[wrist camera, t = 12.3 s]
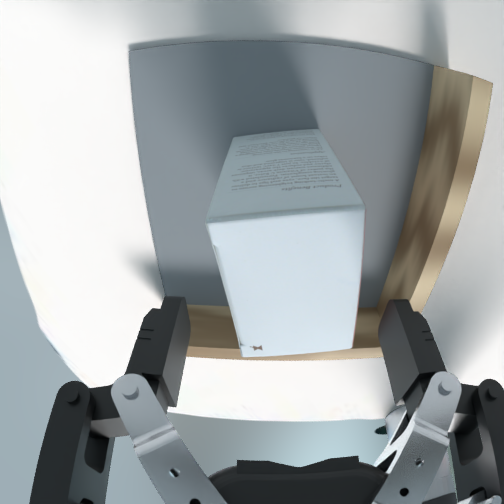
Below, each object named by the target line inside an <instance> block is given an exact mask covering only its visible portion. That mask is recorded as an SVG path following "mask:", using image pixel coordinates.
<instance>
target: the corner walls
mask: <svg viewBox="0 0 504 504" xmlns="http://www.w3.org/2000/svg"><path fill="white" fill-rule="evenodd" d="M492 86H493V83H491V82H489V81H486V80H483V79H481V78H478V77H475V76H472V75H469V74H466V73H462V72H458V71H454V70H451V69H447V68H442V67H438V66H434V70H433V79H432V87H431V95H430V102H429V109H428V115H427V122H426V128H425V133H424V139H423V144H422V149H421V154H420V159H419V164H418V168H417V173H416V177H415V181H414V186H413V190H412V194H411V198H410V202H409V206H408V209H407V213H406V217H405V221H404V224H403V228H402V231H401V235H400V238H399V241H398V245H397V248H396V251H395V254H394V258H393V261H392V264H391V267H390V270H389V273H388V276H387V279H386V282H385V285H384V287H383V290H382V293H381V296H380V299H379V301H378V304H377V307H364V308H358V313H357V320H356V328H355V336H354V342H353V347H352V348H350V349H343V350H336V351H327V352H316V353H305V354H292V355H280V356H264V357H242V356H241V353H240V348H239V342H238V338H237V334H236V330H235V326H234V322H233V318H232V314H231V311H230V307H229V306H209V305H188V304H187V309H188V314H189V319H190V325H191V332H190V340H189V344H188V349H187V354H186V356H187V357H200V358H216V359H237V360H279V361H300V360H341V359H362V358H378V357H384V356H383V353H382V349H381V346H380V342H379V338H378V327H379V324H380V321H381V319H382V316H383V313H384V311H385V308H386V306H387V303H388V301H389V300H390V299H408V300H409V302H410V304H411V306H412V309H413V311H418V312H419V313H420V314H421V312H422V310H423V308H424V306H425V304H426V302H427V300H428V298H429V295H430V293H431V291H432V289H433V287H434V285H435V282H436V280H437V278H438V275H439V273H440V271H441V268H442V266H443V264H444V261H445V259H446V256H447V254H448V251H449V249H450V246H451V244H452V241H453V238H454V236H455V233H456V230H457V227H458V225H459V222H460V219H461V216H462V213H463V210H464V207H465V204H466V201H467V197H468V194H469V191H470V188H471V184H472V181H473V177H474V174H475V170H476V166H477V162H478V158H479V154H480V150H481V146H482V142H483V137H484V132H485V128H486V123H487V117H488V112H489V106H490V100H491V93H492Z"/></svg>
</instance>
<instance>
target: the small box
mask: <svg viewBox="0 0 504 504" xmlns="http://www.w3.org/2000/svg"><path fill="white" fill-rule="evenodd" d="M366 211H367V208H366V206H365V203H364V202H363V200H362V198H361V197H360V195H359V193H358V191H357V189H356V188H355V186H354V184H353V183H352V181H351V179H350V177H349V176H348V174H347V172H346V170H345V169H344V167H343V166H342V164H341V163H340V161H339V160H338V158H337V156H336V154H335V153H334V151H333V150H332V148H331V146H330V145H329V143H328V142H327V140H326V139H325V137H324V136H323V134H322V132H321V131H320V129H306V130H292V131H281V132H271V133H262V134H253V135H246V136H239V137H234V138H233V139H232V142H231V145H230V148H229V151H228V154H227V157H226V159H225V162H224V165H223V168H222V171H221V174H220V177H219V180H218V183H217V186H216V189H215V192H214V195H213V198H212V201H211V204H210V207H209V211H208V214H207V217H206V220H205V224H206V228H207V231H208V233H209V237H210V240H211V243H212V246H213V249H214V253H215V256H216V259H217V263H218V267H219V270H220V274H221V278H222V281H223V285H224V289H225V292H226V296H227V300H228V303H229V307H230V311H231V314H232V318H233V322H234V326H235V330H236V334H237V338H238V342H239V348H240V353H241V356H242V357H264V356H280V355H292V354H305V353H316V352H327V351H336V350H343V349H350V348H352V347H353V342H354V336H355V328H356V320H357V313H358V305H359V296H360V286H361V276H362V265H363V254H364V241H365V224H366Z"/></svg>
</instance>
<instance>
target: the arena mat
mask: <svg viewBox="0 0 504 504" xmlns="http://www.w3.org/2000/svg"><path fill="white" fill-rule="evenodd" d="M129 64H130V77H131V89H132V100H133V110H134V119H135V128H136V136H137V144H138V152H139V159H140V166H141V172H142V179H143V185H144V191H145V197H146V203H147V209H148V214H149V220H150V225H151V230H152V235H153V240H154V245H155V250H156V255H157V260H158V264H159V269H160V273H161V278H162V282H163V286H164V291H165V295H166V296H181V297H185V299H186V304H188V305H209V306H229V303H228V300H227V296H226V292H225V289H224V285H223V281H222V278H221V274H220V270H219V267H218V263H217V259H216V256H215V253H214V249H213V246H212V243H211V240H210V237H209V233H208V231H207V228H206V224H205V220H206V217H207V214H208V211H209V207H210V204H211V201H212V198H213V195H214V192H215V189H216V186H217V183H218V180H219V177H220V174H221V171H222V168H223V165H224V162H225V159H226V157H227V154H228V151H229V148H230V145H231V142H232V139H233V138H234V137H239V136H246V135H253V134H262V133H271V132H281V131H292V130H306V129H320V131H321V132H322V134H323V136H324V137H325V139H326V140H327V142H328V143H329V145H330V146H331V148H332V150H333V151H334V153H335V154H336V156H337V158H338V160H339V161H340V163H341V164H342V166H343V167H344V169H345V170H346V172H347V174H348V176H349V177H350V179H351V181H352V183H353V184H354V186H355V188H356V189H357V191H358V193H359V195H360V197H361V198H362V200H363V202H364V203H365V206H366V208H367V211H366V224H365V241H364V254H363V265H362V276H361V286H360V296H359V305H358V308H364V307H377V304H378V301H379V299H380V296H381V293H382V290H383V287H384V285H385V282H386V279H387V276H388V273H389V270H390V267H391V264H392V261H393V258H394V254H395V251H396V248H397V245H398V241H399V238H400V235H401V231H402V228H403V224H404V221H405V217H406V213H407V209H408V206H409V202H410V198H411V194H412V190H413V186H414V181H415V177H416V173H417V168H418V164H419V159H420V154H421V149H422V144H423V139H424V133H425V128H426V122H427V115H428V109H429V102H430V95H431V87H432V79H433V70H434V65H430V64H427V63H423V62H419V61H415V60H411V59H407V58H402V57H398V56H393V55H389V54H384V53H378V52H373V51H367V50H361V49H355V48H348V47H341V46H333V45H324V44H314V43H302V42H286V41H213V42H198V43H185V44H175V45H166V46H158V47H151V48H144V49H138V50H132V51H129Z"/></svg>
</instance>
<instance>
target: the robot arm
mask: <svg viewBox="0 0 504 504" xmlns="http://www.w3.org/2000/svg"><path fill="white" fill-rule="evenodd" d="M430 331H431V330H430V328H429V325H428V323H427V321H426V319H425V318H424V317H423V316H422V315H421V314H420V313H419V312H418V311H413V309H412V306H411V304H410V302H409V300H408V299H390V300H389V301H388V303H387V306H386V308H385V311H384V313H383V316H382V319H381V321H380V324H379V327H378V338H379V342H380V346H381V349H382V353H383V356H384V360H385V364H386V368H387V372H388V376H389V380H390V384H391V388H392V392H393V396H394V400H395V405H396V406H398V405H404V404H405V406H402V407H400V408H398V409H396V410H394V411H393V412H391V413H390V414H389V415H388V416H387V417H386V418H385V422H386V429H387V435H388V440H389V443H388V445H387V446H386V448H385V450H384V451H383V453H382V454H381V455H380V456H379V458H378V459H377V460H376V462H375V463H374V465H373V466H372V465H369V464H366V463H363V462H359V458H358V456H351V457H341V458H331V459H327V460H324V461H321V462H317V463H314V464H311V465H307V466H304V467H294V466H288V465H284V464H279V463H275V462H270V461H248V460H237V466H233V467H228V468H225V469H222V470H220V471H217V472H216V473H214V474H212V475H210V476H209V477H207V476H206V474H205V473H204V472H203V470H202V469H201V467H200V466H199V464H198V463H197V462H196V460H195V459H194V457H193V456H192V454H191V453H190V451H189V450H188V448H187V447H186V445H185V444H184V442H183V440H182V439H181V437H180V436H179V434H178V433H177V431H176V430H175V428H174V427H173V425H172V424H171V422H170V420H169V419H168V417H167V415H166V414H167V409H168V406H170V407H176V406H177V400H178V395H179V390H180V385H181V379H182V374H183V369H184V364H185V359H186V354H187V349H188V344H189V340H190V332H191V325H190V319H189V314H188V309H187V304H186V299H185V297H181V296H165V297H164V300H163V303H162V306H161V309H156V308H152V309H151V310H150V311H149V313H148V314H147V315H146V316H145V317H144V319H143V322H142V325H141V328H140V331H139V333H138V336H137V339H136V342H135V345H134V348H133V351H132V354H131V357H130V360H129V364H128V367H127V370H126V372H125V374H124V375H123V376H121V377H119V378H118V379H117V380H116V381H115V382H114V384H112V385H109V386H103V387H96V388H88V387H87V386H86V385H85V384H84V383H82V382H79V381H71V382H68V383H66V384H64V385H63V386H62V387H61V388H60V389H59V391H58V393H57V396H56V399H55V402H54V405H53V408H52V412H51V415H50V419H49V422H48V425H47V429H46V432H45V436H44V440H43V443H42V447H41V451H40V455H39V459H38V464H37V468H36V473H35V477H34V482H33V487H32V493H31V497H30V503H29V504H105V499H106V491H107V484H108V476H109V471H110V465H111V458H112V452H113V447H114V441H115V437H120V436H127V435H130V437H131V439H132V441H133V444H134V450H135V452H136V454H137V456H138V458H139V460H140V462H141V464H142V465H143V467H144V469H145V471H146V473H147V474H148V476H149V478H150V480H151V481H152V483H153V484H154V486H155V488H156V490H157V491H158V493H159V494H160V496H161V498H162V499H163V501H164V502H165V504H504V390H503V388H502V386H501V385H500V384H499V383H498V382H497V381H495V380H493V379H486V380H484V381H482V382H481V384H480V385H479V386H473V385H467V384H462V383H460V382H459V380H458V378H457V377H456V376H454V375H453V374H451V373H449V372H447V371H446V369H445V366H444V363H443V361H442V358H441V355H440V353H439V350H438V347H437V345H436V342H435V341H434V337H433V335H432V333H431V332H430ZM479 430H480V431H479ZM447 433H448V437H447ZM480 434H481V435H480ZM481 438H482V440H481ZM482 443H483V444H482ZM449 444H450V449H451V455H452V461H453V468H454V474H455V482H456V490H457V498H458V503H457V499H456V493H455V487H454V481H453V477H452V472H451V467H450V462H449V457H448V453H447V448H448V445H449Z"/></svg>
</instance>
